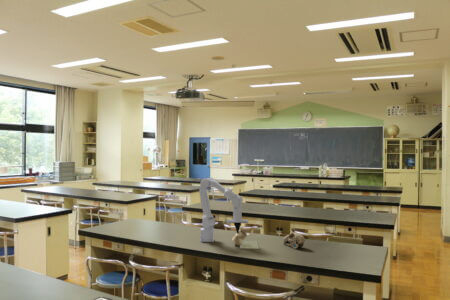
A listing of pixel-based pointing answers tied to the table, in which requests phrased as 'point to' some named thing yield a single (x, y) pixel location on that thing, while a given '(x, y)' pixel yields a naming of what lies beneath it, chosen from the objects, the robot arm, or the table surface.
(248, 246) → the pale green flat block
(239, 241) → the wooden block
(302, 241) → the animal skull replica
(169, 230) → the table surface
